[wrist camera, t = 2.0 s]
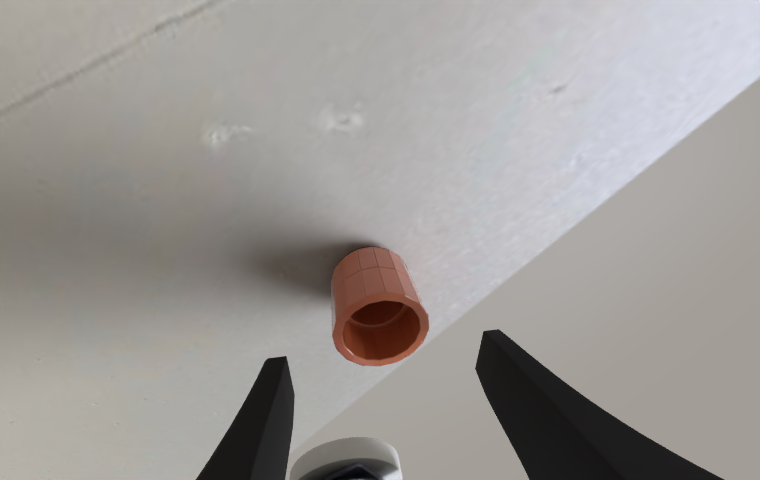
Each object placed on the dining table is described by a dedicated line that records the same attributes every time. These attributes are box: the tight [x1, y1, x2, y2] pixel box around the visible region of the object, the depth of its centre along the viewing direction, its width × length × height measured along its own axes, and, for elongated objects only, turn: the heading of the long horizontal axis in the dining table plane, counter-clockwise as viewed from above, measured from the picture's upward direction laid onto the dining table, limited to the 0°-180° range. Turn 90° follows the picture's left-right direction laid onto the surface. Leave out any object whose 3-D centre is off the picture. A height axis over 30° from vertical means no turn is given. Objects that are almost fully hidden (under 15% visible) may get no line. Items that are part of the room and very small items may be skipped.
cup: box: [331, 247, 429, 366], centre depth 14 cm, size 4×4×4 cm
